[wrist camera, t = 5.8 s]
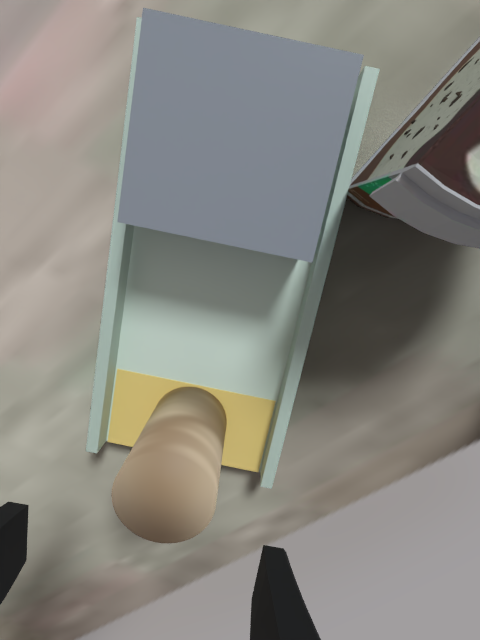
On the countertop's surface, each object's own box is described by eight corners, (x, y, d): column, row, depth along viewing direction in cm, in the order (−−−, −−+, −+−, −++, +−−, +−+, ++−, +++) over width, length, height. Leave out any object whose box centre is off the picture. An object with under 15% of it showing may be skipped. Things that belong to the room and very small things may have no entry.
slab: (336, 100, 16) (363, 55, 12) (299, 257, 17) (312, 262, 13) (170, 65, 16) (143, 7, 12) (147, 226, 17) (117, 221, 13)
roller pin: (233, 394, 19) (225, 463, 13) (219, 459, 20) (205, 551, 14) (159, 379, 19) (118, 442, 13) (149, 445, 20) (105, 532, 14)
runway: (363, 91, 17) (379, 69, 14) (269, 463, 21) (271, 488, 19) (152, 46, 16) (137, 17, 14) (103, 429, 21) (85, 451, 19)
